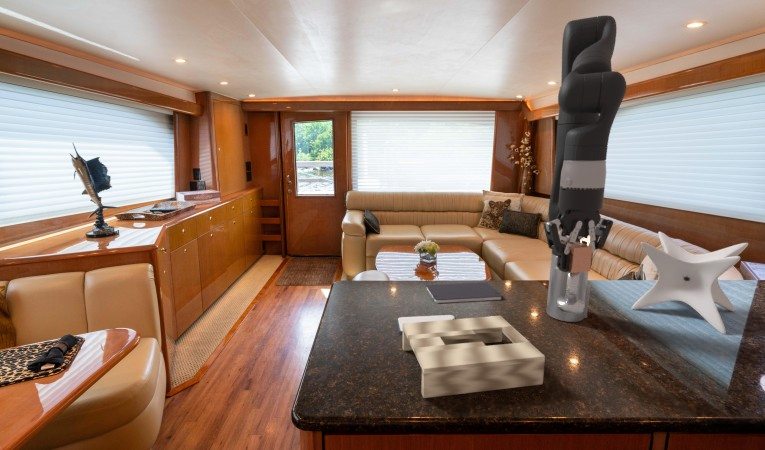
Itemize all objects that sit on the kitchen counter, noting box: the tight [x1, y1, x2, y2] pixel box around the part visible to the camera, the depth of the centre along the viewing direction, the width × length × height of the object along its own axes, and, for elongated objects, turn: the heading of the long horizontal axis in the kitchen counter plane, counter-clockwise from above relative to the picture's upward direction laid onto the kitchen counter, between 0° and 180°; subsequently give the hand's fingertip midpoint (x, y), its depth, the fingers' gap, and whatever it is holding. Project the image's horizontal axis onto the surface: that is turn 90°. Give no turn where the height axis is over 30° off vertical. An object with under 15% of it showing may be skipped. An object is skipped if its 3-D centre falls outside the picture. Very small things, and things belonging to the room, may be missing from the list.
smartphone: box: [395, 314, 457, 336], centre depth 95 cm, size 9×2×16 cm
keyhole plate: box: [401, 315, 546, 399], centre depth 77 cm, size 24×18×6 cm
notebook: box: [425, 281, 503, 304], centre depth 117 cm, size 13×2×21 cm
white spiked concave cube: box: [631, 231, 749, 335], centre depth 102 cm, size 20×20×20 cm
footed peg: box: [557, 242, 593, 314], centre depth 73 cm, size 5×5×14 cm
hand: (573, 269), depth 73 cm, fingers closed on footed peg, 4 cm apart
